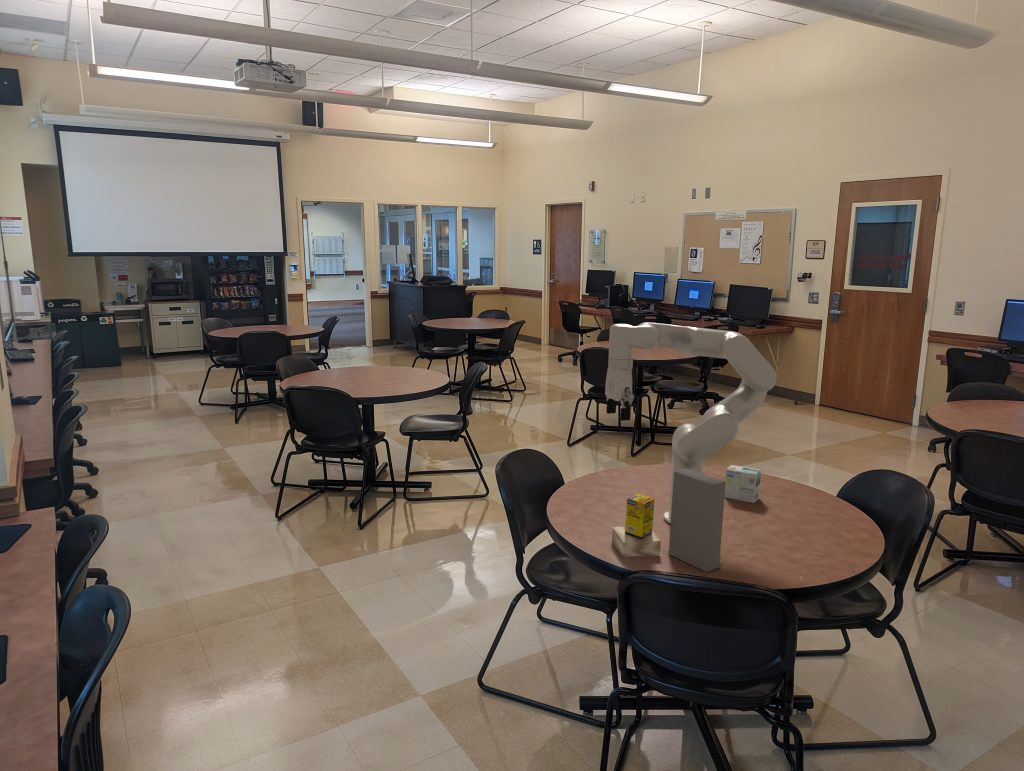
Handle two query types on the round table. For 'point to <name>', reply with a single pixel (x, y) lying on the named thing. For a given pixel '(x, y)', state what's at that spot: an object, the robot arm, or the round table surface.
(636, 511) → the supplement box
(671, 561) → the round table surface
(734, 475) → the light bulb box
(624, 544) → the birch block
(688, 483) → the upright grey panel
